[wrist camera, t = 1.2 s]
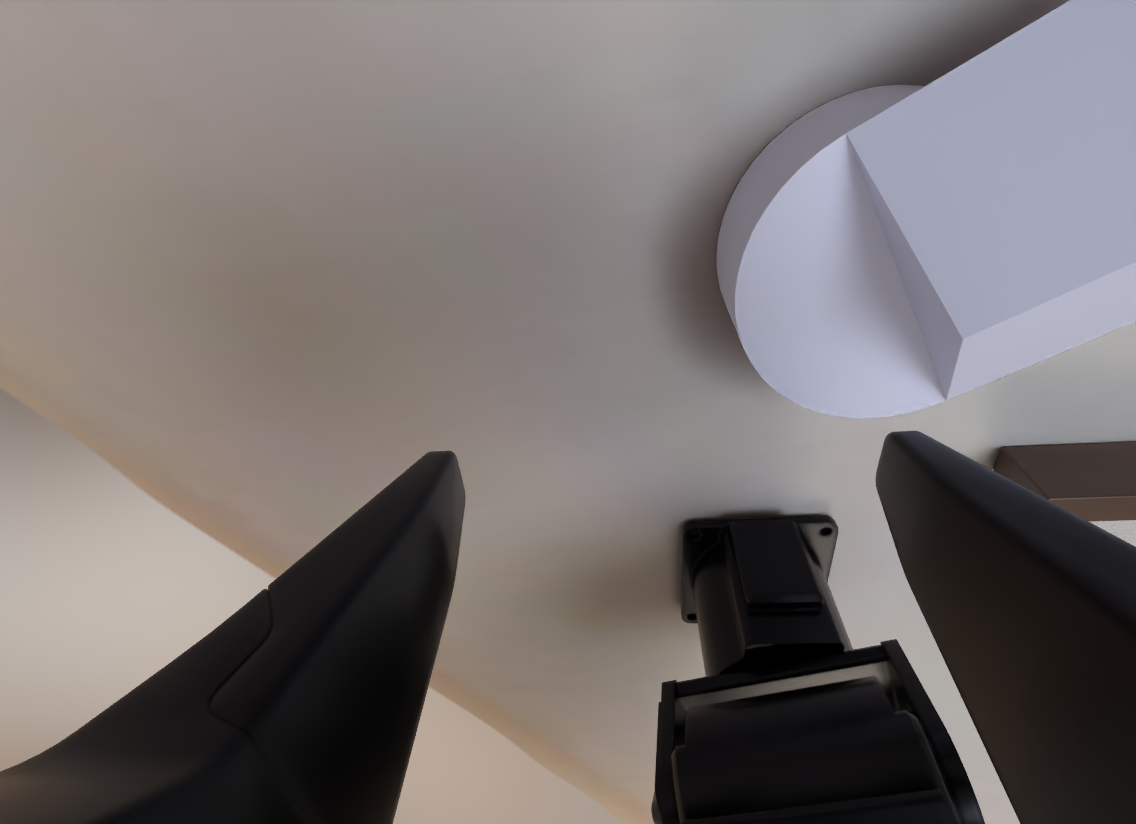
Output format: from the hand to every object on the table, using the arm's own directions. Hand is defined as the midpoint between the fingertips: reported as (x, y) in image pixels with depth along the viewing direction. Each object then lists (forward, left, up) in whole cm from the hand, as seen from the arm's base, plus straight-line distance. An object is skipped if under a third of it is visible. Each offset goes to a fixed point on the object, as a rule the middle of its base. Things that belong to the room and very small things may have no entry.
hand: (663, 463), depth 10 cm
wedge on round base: (0, -9, -12) cm, 15 cm away
